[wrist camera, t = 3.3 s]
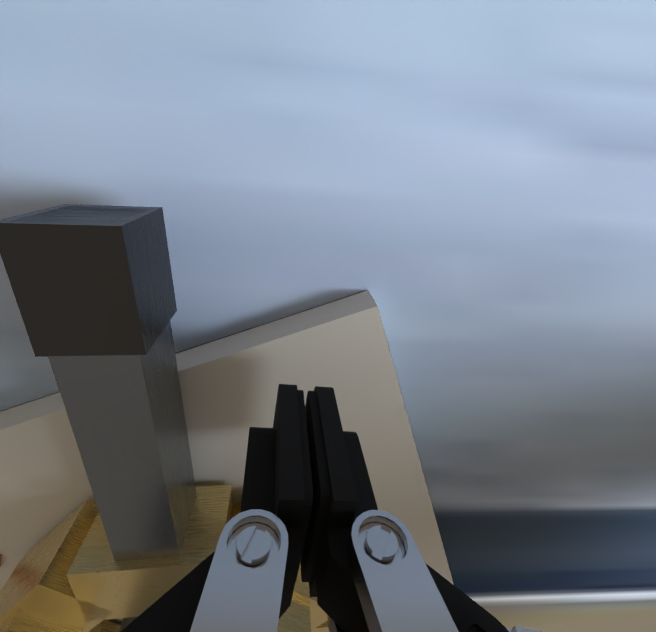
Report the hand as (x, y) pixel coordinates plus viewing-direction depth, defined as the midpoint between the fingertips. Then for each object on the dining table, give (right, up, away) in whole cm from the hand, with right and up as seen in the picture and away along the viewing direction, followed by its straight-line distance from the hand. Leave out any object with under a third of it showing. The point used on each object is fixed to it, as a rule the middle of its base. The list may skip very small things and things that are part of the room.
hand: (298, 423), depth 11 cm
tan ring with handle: (-5, -5, +4) cm, 8 cm away
